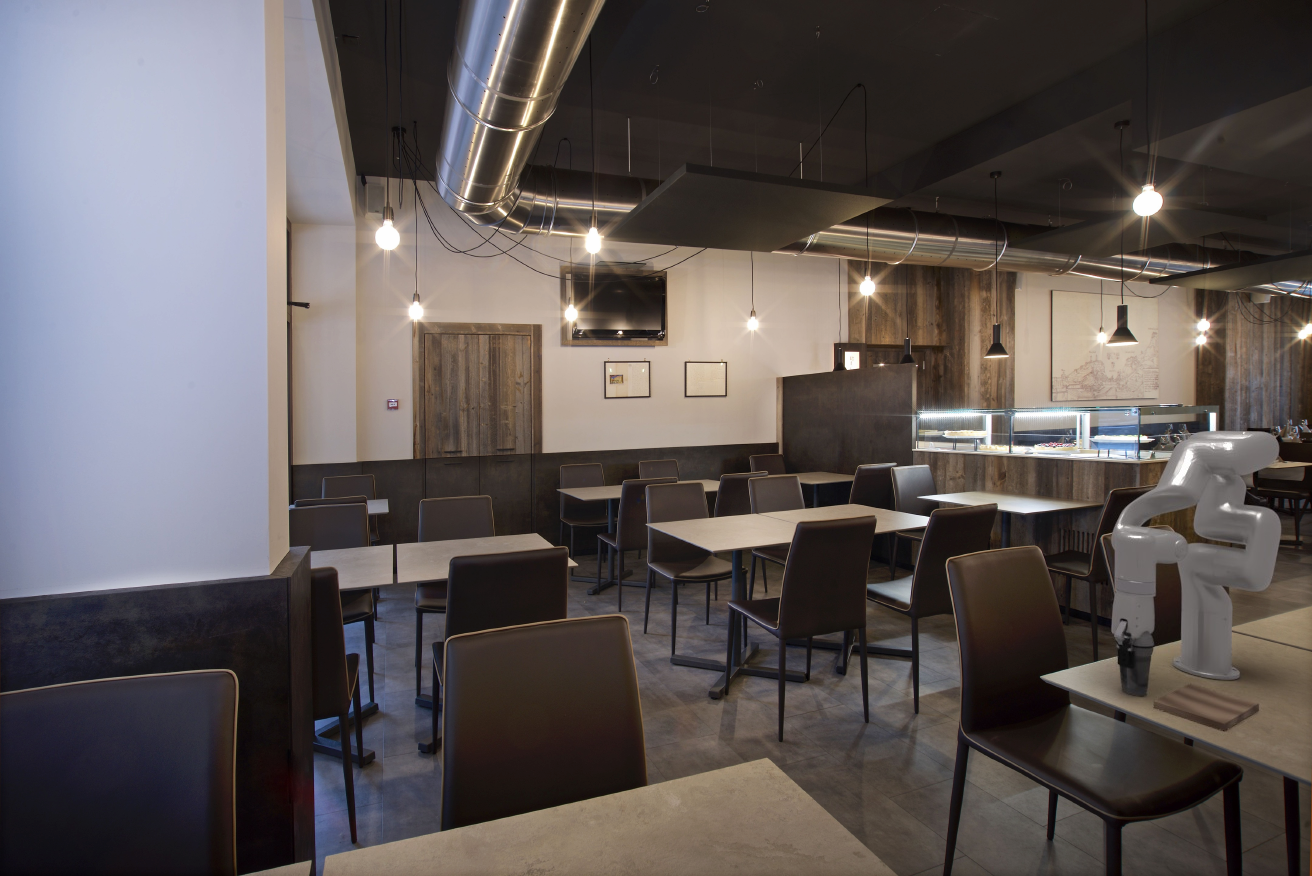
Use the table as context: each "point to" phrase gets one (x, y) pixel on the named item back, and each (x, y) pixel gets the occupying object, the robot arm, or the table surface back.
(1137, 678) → the beverage cup
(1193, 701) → the serving board
